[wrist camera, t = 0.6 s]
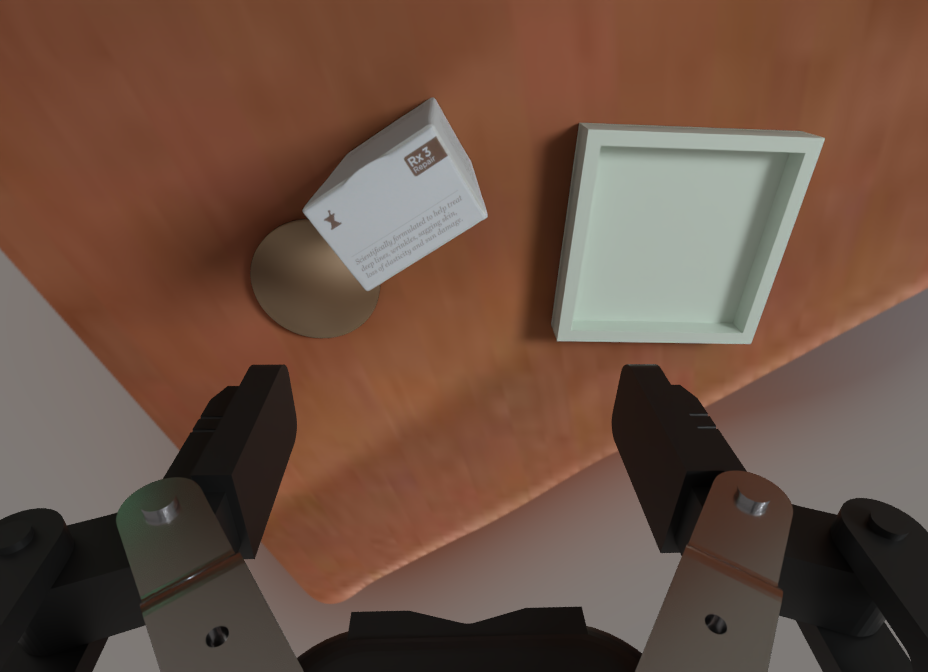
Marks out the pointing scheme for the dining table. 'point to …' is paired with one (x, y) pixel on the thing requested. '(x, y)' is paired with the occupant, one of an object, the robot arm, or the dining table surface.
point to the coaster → (308, 283)
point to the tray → (677, 231)
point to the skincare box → (398, 197)
